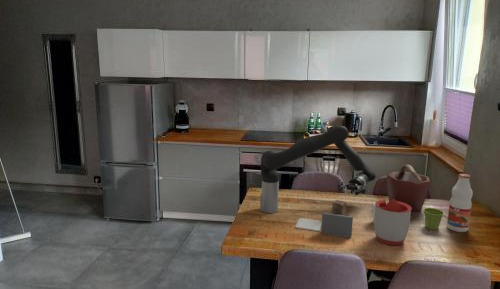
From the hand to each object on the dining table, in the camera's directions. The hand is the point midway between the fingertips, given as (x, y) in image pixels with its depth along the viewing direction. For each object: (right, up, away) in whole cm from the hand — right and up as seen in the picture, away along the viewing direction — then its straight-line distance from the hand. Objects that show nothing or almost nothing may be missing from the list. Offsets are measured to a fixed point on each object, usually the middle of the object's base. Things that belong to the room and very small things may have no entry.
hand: (347, 191), depth 188 cm
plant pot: (+42, -18, -2) cm, 46 cm away
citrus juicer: (+15, -20, -16) cm, 30 cm away
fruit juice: (+54, -18, -3) cm, 57 cm away
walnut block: (-7, -18, -6) cm, 20 cm away
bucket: (+39, -13, +25) cm, 48 cm away
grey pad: (-20, -17, -2) cm, 26 cm away
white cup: (+17, -17, +3) cm, 24 cm away
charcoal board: (-9, -19, -13) cm, 25 cm away
